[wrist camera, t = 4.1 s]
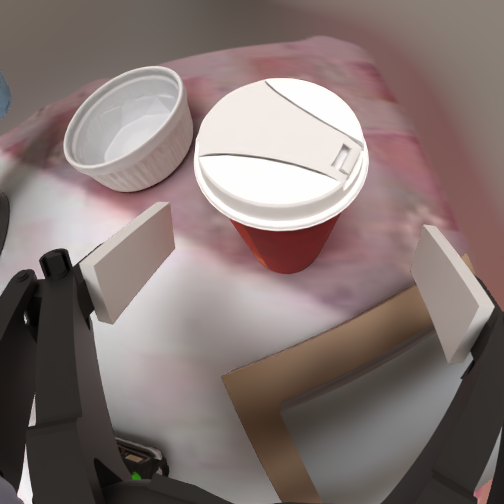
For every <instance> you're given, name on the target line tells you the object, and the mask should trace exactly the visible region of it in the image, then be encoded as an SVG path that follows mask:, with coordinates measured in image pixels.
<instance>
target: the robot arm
mask: <svg viewBox="0 0 504 504" xmlns="http://www.w3.org/2000/svg"><path fill="white" fill-rule="evenodd" d="M11 103H12V95H11V91H10V88H9V86H8V84H7V82H6V80H5V77H4V76H3V74H2V72H1V70H0V121H1V120H2V118H3V117H4V116H5V115H6V113H7V112H8V111H9V109H10V107H11ZM8 219H9V204H8V199H7V197H6V195H5V194H4V193H2V192H0V252H1V249H2V246H3V243H4V240H5V236H6V231H7V226H8ZM174 249H175V243H174V235H173V227H172V218H171V208H170V202H156V203H155V204H154V205H152V206H151V207H150V208H148V209H147V210H146V211H144V212H143V213H142V214H140V215H139V216H138V217H136V218H135V219H134V220H132V221H131V222H130V223H128V224H127V225H126V226H124V227H123V228H122V229H121V230H119V231H118V232H117V233H116V234H114V235H113V236H112V237H111V238H109V239H108V240H107V241H106V242H104V243H102V244H100V245H99V246H97V247H96V248H95V249H94V250H93V251H91V252H90V253H89V254H88V256H85V257H84V258H83V259H82V260H81V261H79V262H78V263H77V264H76V265H75V266H74V267H72V264H71V261H70V257H69V254H68V251H67V250H66V249H61V248H60V249H55V250H52V251H49V252H47V253H46V254H44V255H43V256H42V257H41V258H40V260H39V262H40V265H41V268H42V271H43V273H44V276H45V279H38V280H37V277H36V275H35V272H34V270H32V269H27V270H22V271H21V272H20V271H19V272H18V273H17V274H16V275H14V276H13V278H12V279H11V280H10V282H9V283H8V285H7V286H6V288H5V290H4V291H3V293H2V294H1V296H0V504H24V503H23V501H22V500H21V499H20V498H18V497H17V492H18V489H19V485H20V481H21V476H22V470H23V463H24V453H25V445H26V450H27V459H28V467H29V474H30V481H31V487H32V492H33V497H34V502H35V504H233V503H231V502H229V501H226V500H224V499H222V498H220V497H218V496H215V495H213V494H211V493H209V492H207V491H205V490H203V489H201V488H199V487H197V486H195V485H192V484H188V483H185V482H181V481H178V480H175V479H172V478H169V477H165V476H162V475H160V474H157V473H154V475H153V477H152V479H151V480H149V479H137V480H133V478H132V476H131V474H130V472H129V471H128V469H127V467H126V466H125V464H124V462H123V460H122V458H121V455H120V452H119V449H118V446H117V442H116V439H115V435H114V432H113V428H112V425H111V421H110V417H109V413H108V409H107V405H106V401H105V396H104V392H103V387H102V382H101V377H100V372H99V366H98V360H97V354H96V348H95V341H94V333H93V325H92V320H91V318H90V314H91V313H92V312H93V311H94V310H95V313H96V315H97V318H98V320H99V321H101V322H105V323H108V324H112V325H113V324H114V322H115V321H116V320H117V318H118V317H119V316H120V315H121V313H122V312H123V311H124V310H125V308H126V307H127V306H128V305H129V303H130V302H131V301H132V300H133V298H134V297H135V296H136V295H137V293H138V292H139V291H140V290H141V288H142V287H143V286H144V285H145V284H146V282H147V281H148V280H149V279H150V278H151V276H152V275H153V274H154V273H155V272H156V270H157V269H158V268H159V267H160V266H161V264H162V263H163V262H164V261H165V260H166V258H167V257H168V256H169V255H170V254H171V253H172V251H173V250H174ZM410 272H411V274H412V276H413V278H414V280H415V282H416V284H417V287H418V289H419V291H420V293H421V296H422V298H423V300H424V302H425V305H426V307H427V309H428V312H429V314H430V317H431V319H432V322H433V324H434V327H435V329H436V332H437V334H438V337H439V340H440V342H441V345H442V348H443V351H444V353H445V356H446V359H447V362H448V364H453V363H463V362H464V361H465V359H466V358H467V356H468V354H469V353H470V352H471V354H472V357H473V360H472V362H471V363H470V365H469V366H468V368H467V369H466V371H465V372H464V373H463V375H462V376H461V378H460V379H463V380H462V382H461V384H460V386H459V388H458V390H457V392H456V394H455V396H454V398H453V400H452V402H451V404H450V405H449V407H448V409H447V411H446V413H445V415H444V416H443V418H442V420H441V422H440V423H439V425H438V427H437V428H436V430H435V432H434V433H433V435H432V436H431V438H430V440H429V441H428V443H427V444H426V446H425V447H424V449H423V450H422V452H421V453H420V455H419V456H418V458H417V459H416V460H415V462H414V463H413V465H412V466H411V467H410V469H409V470H408V471H407V473H406V474H405V475H404V477H403V478H402V479H401V480H400V482H399V483H398V484H397V485H396V487H395V488H394V489H393V490H392V492H391V493H390V494H389V495H388V496H387V497H386V499H385V500H384V501H383V502H382V503H381V504H477V500H478V499H477V498H476V497H474V496H473V494H474V491H475V488H476V486H477V484H478V482H479V480H480V478H481V476H482V474H483V472H484V470H485V468H486V465H487V463H488V461H489V459H490V456H491V454H492V452H493V449H494V447H495V444H496V441H497V439H498V436H499V433H500V431H501V428H502V432H501V439H500V446H499V452H498V458H497V463H496V468H495V473H494V477H493V481H492V485H491V489H490V493H489V497H488V500H487V504H504V312H502V310H501V309H500V307H499V306H498V304H497V302H496V301H495V300H494V298H493V296H491V293H490V292H489V290H487V288H486V286H485V285H484V284H483V282H482V281H481V280H480V279H479V278H478V277H477V276H475V275H474V274H472V272H471V271H470V269H469V268H468V267H467V265H466V264H465V263H464V261H463V260H462V259H461V257H460V256H459V255H458V254H457V252H456V251H455V250H454V248H453V247H452V246H451V245H450V243H449V242H448V241H447V240H446V238H445V237H444V236H443V235H442V234H441V232H440V231H439V230H438V229H437V228H436V226H430V225H423V226H422V230H421V234H420V238H419V242H418V246H417V250H416V253H415V257H414V260H413V264H412V267H411V271H410ZM24 315H25V317H26V319H27V323H26V324H25V321H24ZM34 394H35V405H36V425H35V426H30V427H28V425H29V419H30V414H31V409H32V404H33V399H34ZM275 504H320V503H298V502H284V503H275Z"/></svg>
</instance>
